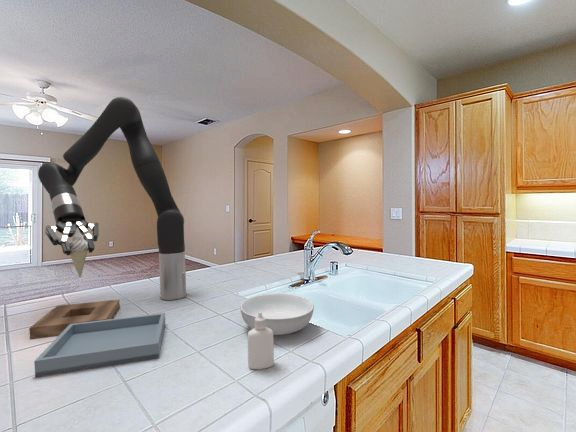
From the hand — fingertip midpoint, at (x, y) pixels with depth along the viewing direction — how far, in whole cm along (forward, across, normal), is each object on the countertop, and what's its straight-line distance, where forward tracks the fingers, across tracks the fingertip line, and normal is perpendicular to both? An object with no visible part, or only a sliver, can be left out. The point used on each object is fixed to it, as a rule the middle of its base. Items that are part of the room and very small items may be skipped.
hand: (80, 252), depth 90 cm
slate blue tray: (+31, +1, 0) cm, 31 cm away
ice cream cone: (+4, 0, +7) cm, 8 cm away
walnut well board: (+13, 0, +18) cm, 22 cm away
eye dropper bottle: (+55, +20, -24) cm, 64 cm away
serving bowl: (+48, +36, -16) cm, 62 cm away
